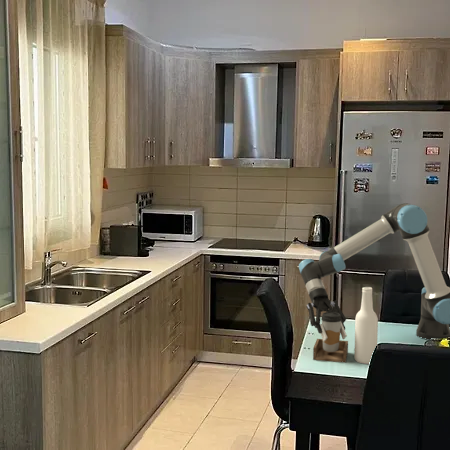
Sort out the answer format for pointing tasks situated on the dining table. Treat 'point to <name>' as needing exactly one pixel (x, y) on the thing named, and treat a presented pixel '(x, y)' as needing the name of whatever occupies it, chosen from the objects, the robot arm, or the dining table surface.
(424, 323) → the robot arm
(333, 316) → the coffee cup
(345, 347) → the cup holder
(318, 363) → the dining table surface
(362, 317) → the white bottle
